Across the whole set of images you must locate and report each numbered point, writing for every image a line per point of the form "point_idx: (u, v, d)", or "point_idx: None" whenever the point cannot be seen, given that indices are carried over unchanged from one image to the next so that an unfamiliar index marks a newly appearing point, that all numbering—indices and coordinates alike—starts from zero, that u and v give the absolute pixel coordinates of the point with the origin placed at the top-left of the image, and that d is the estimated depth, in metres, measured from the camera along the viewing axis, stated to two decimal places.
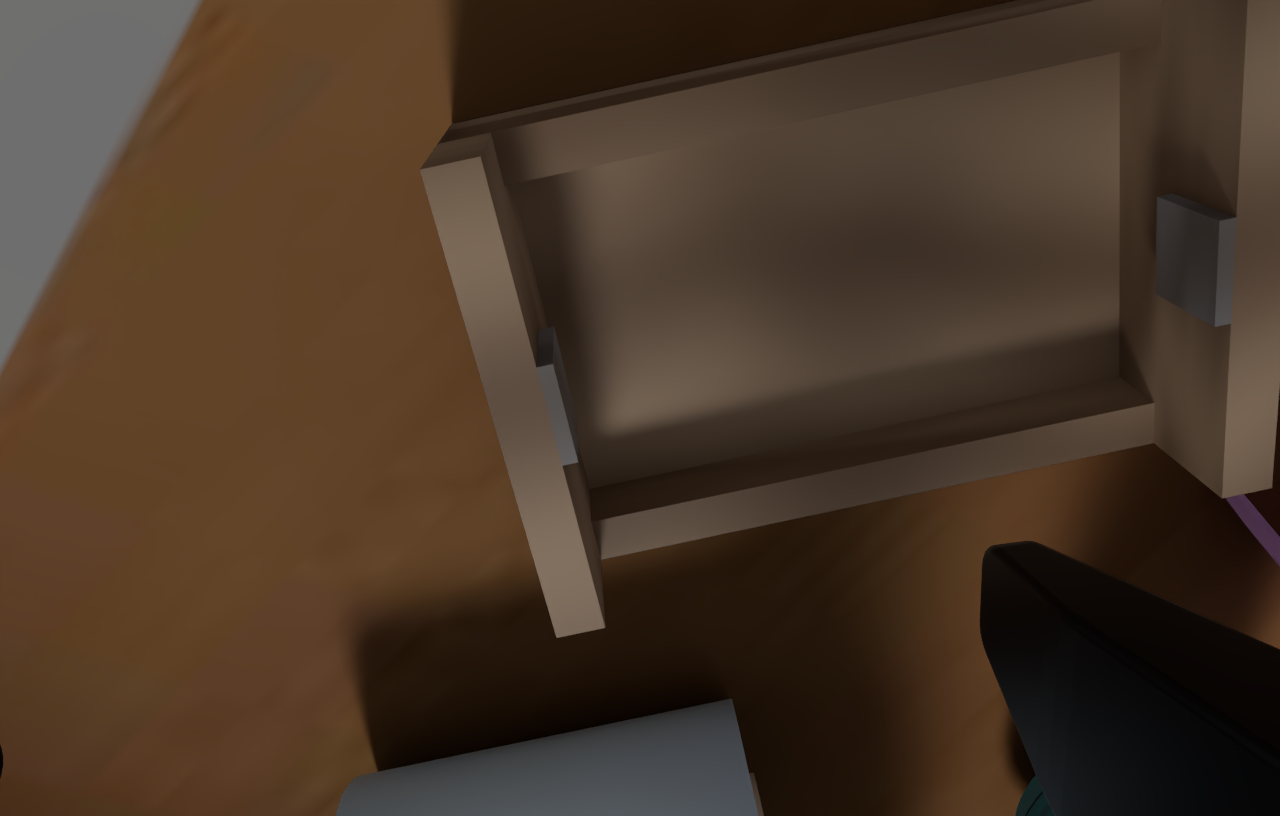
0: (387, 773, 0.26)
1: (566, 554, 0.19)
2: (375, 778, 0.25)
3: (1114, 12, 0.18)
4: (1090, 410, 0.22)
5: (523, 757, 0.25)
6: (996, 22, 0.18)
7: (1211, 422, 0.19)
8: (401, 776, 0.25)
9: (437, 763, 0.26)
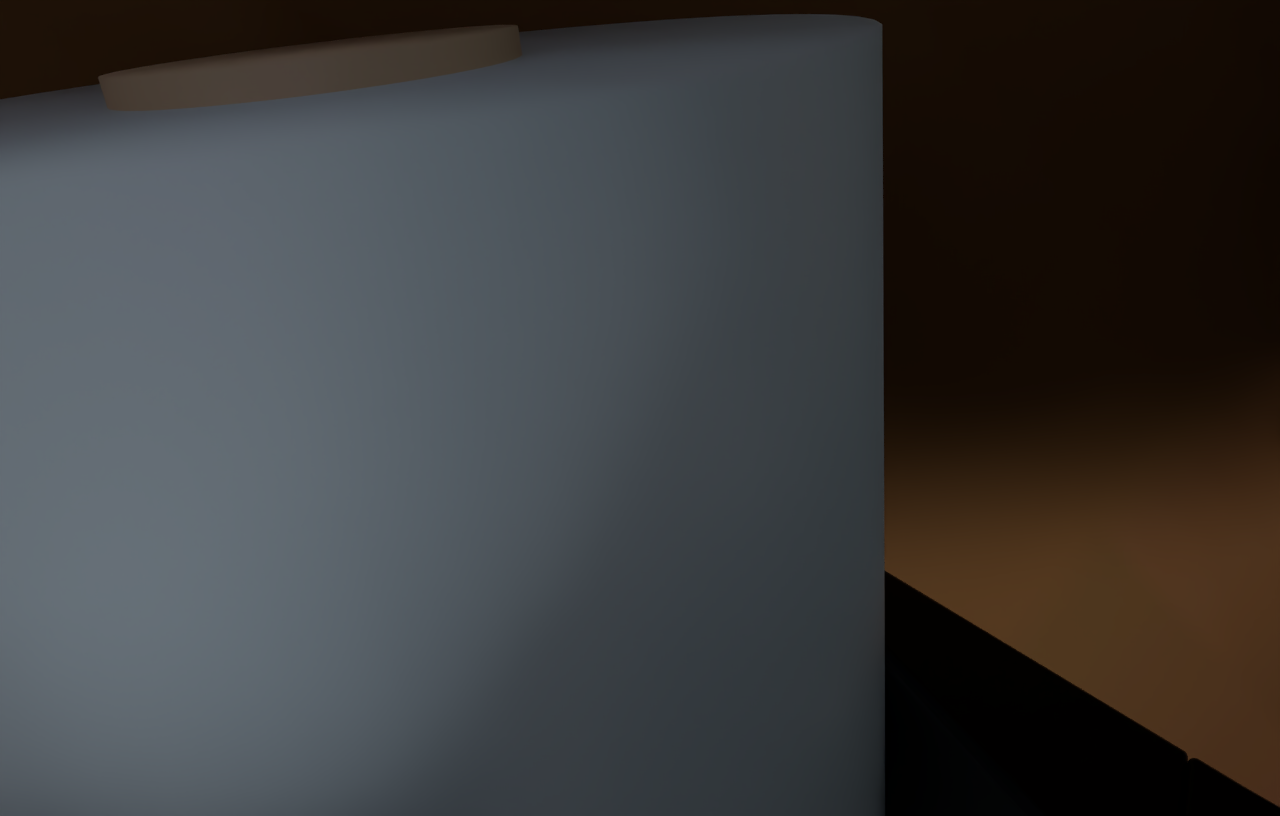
0: None
1: None
2: None
3: None
4: None
5: None
6: None
7: None
8: None
9: None
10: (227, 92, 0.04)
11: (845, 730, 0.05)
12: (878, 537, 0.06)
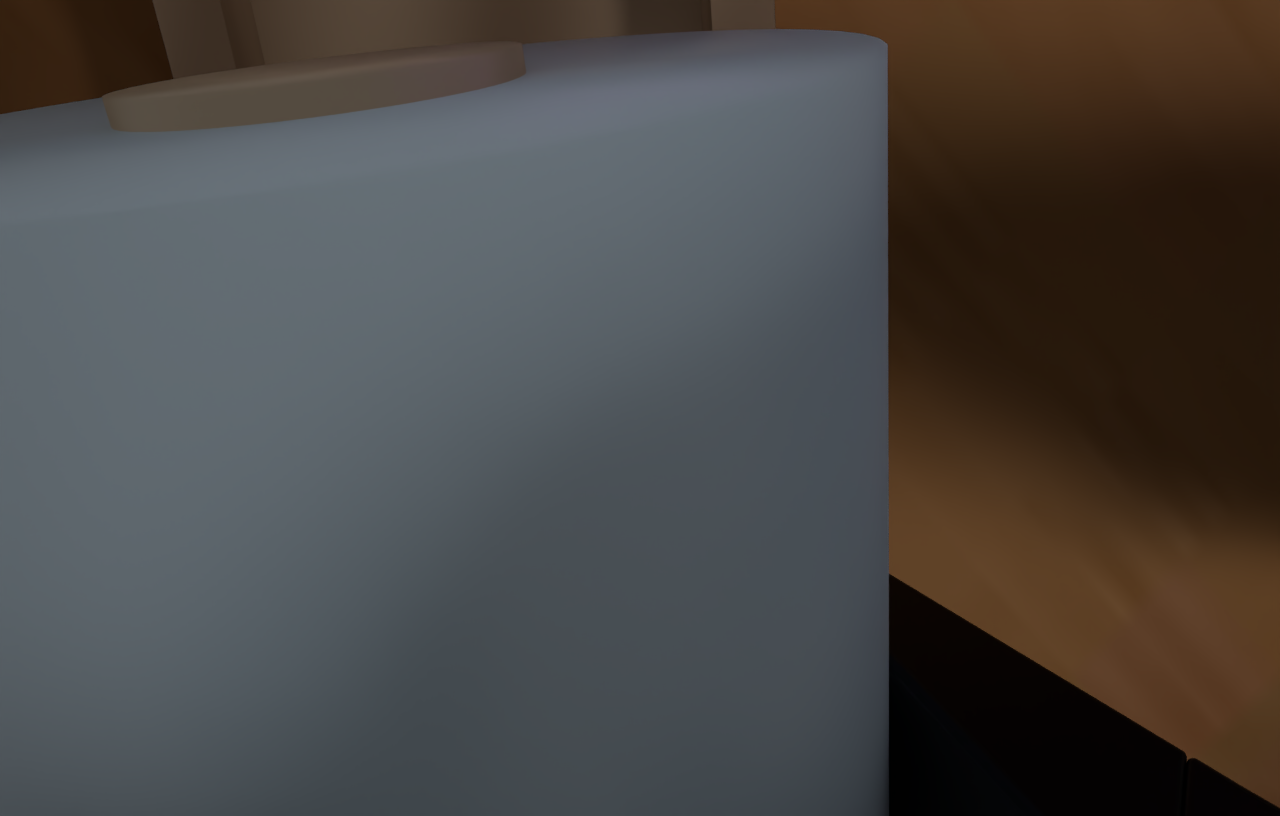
0: None
1: None
2: None
3: None
4: None
5: None
6: None
7: None
8: None
9: None
10: (232, 114, 0.04)
11: (849, 750, 0.05)
12: (883, 556, 0.05)
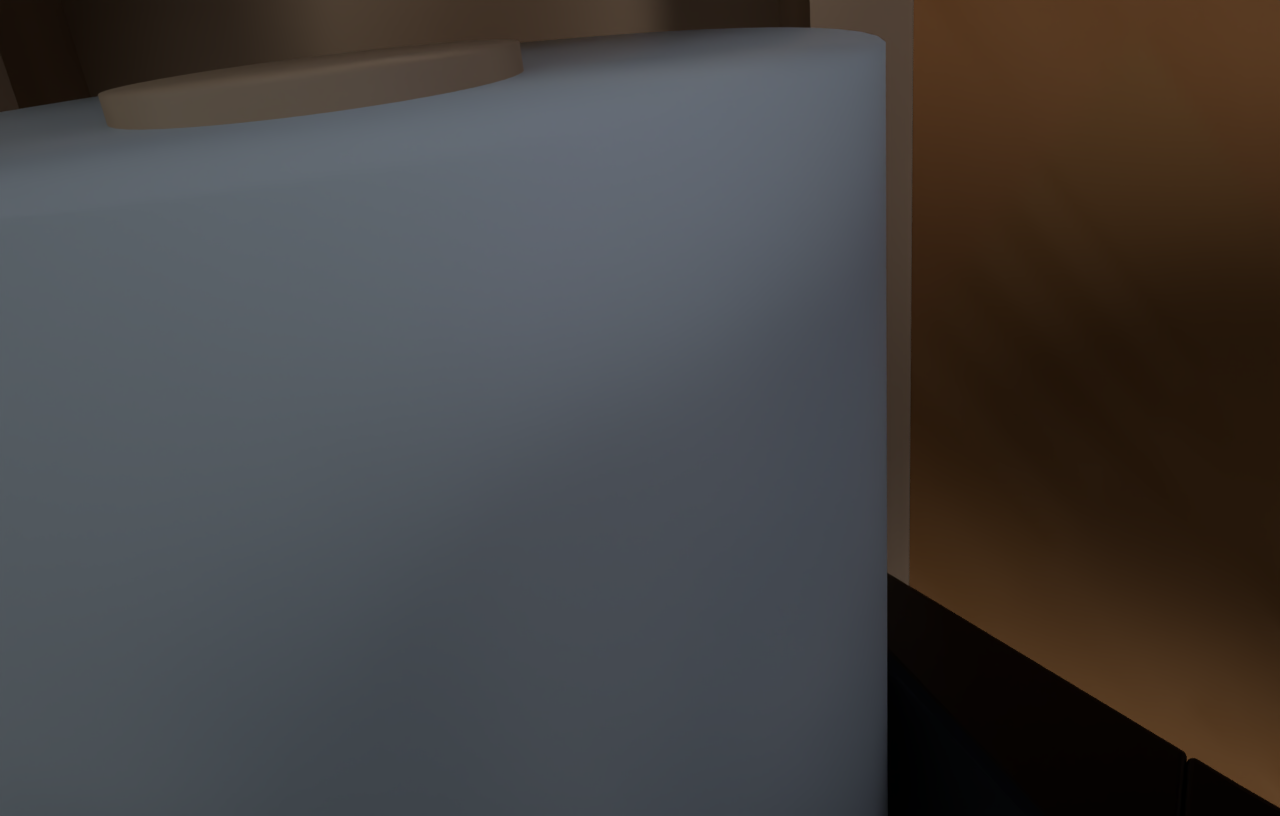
0: None
1: None
2: None
3: None
4: None
5: None
6: None
7: None
8: None
9: None
10: (228, 111, 0.04)
11: (845, 749, 0.05)
12: (881, 555, 0.05)
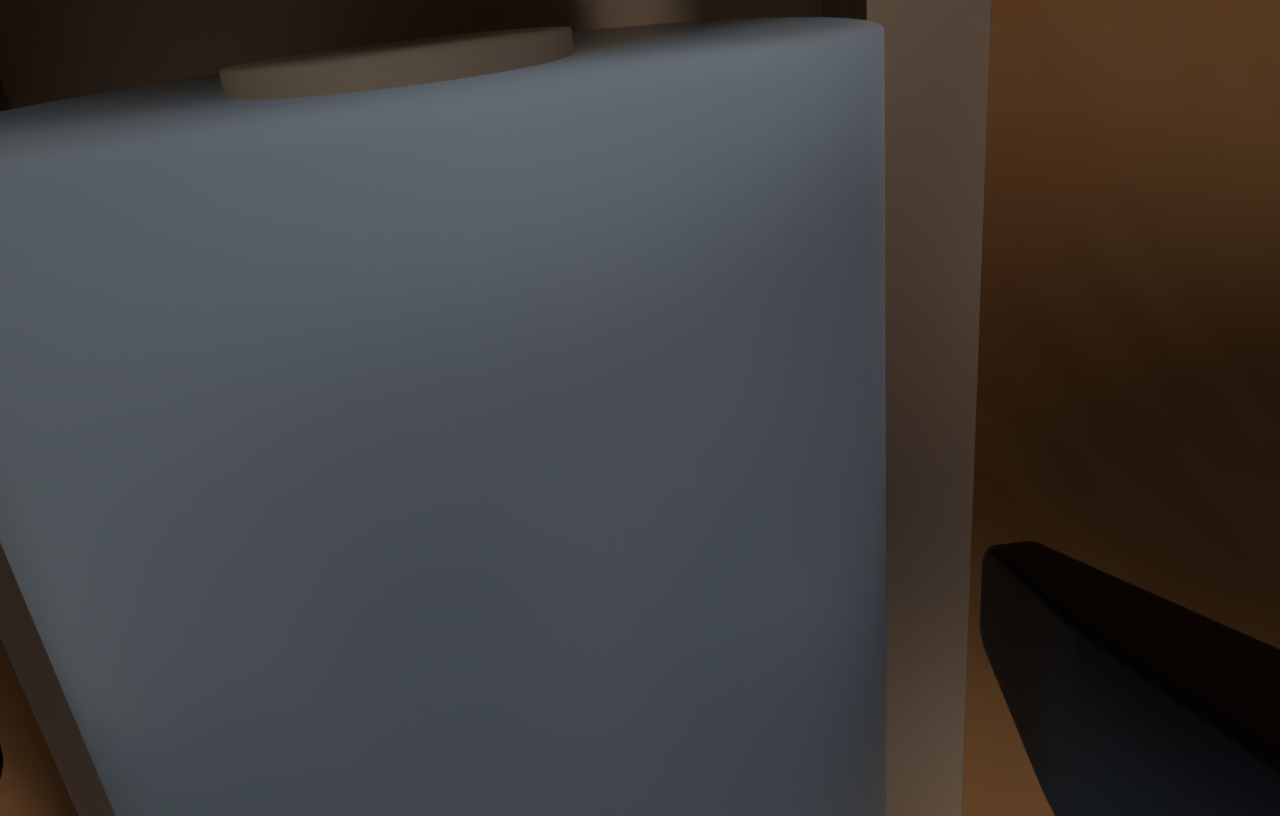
0: None
1: None
2: None
3: None
4: None
5: None
6: None
7: None
8: None
9: None
10: (358, 81, 0.05)
11: (868, 603, 0.06)
12: (884, 446, 0.07)
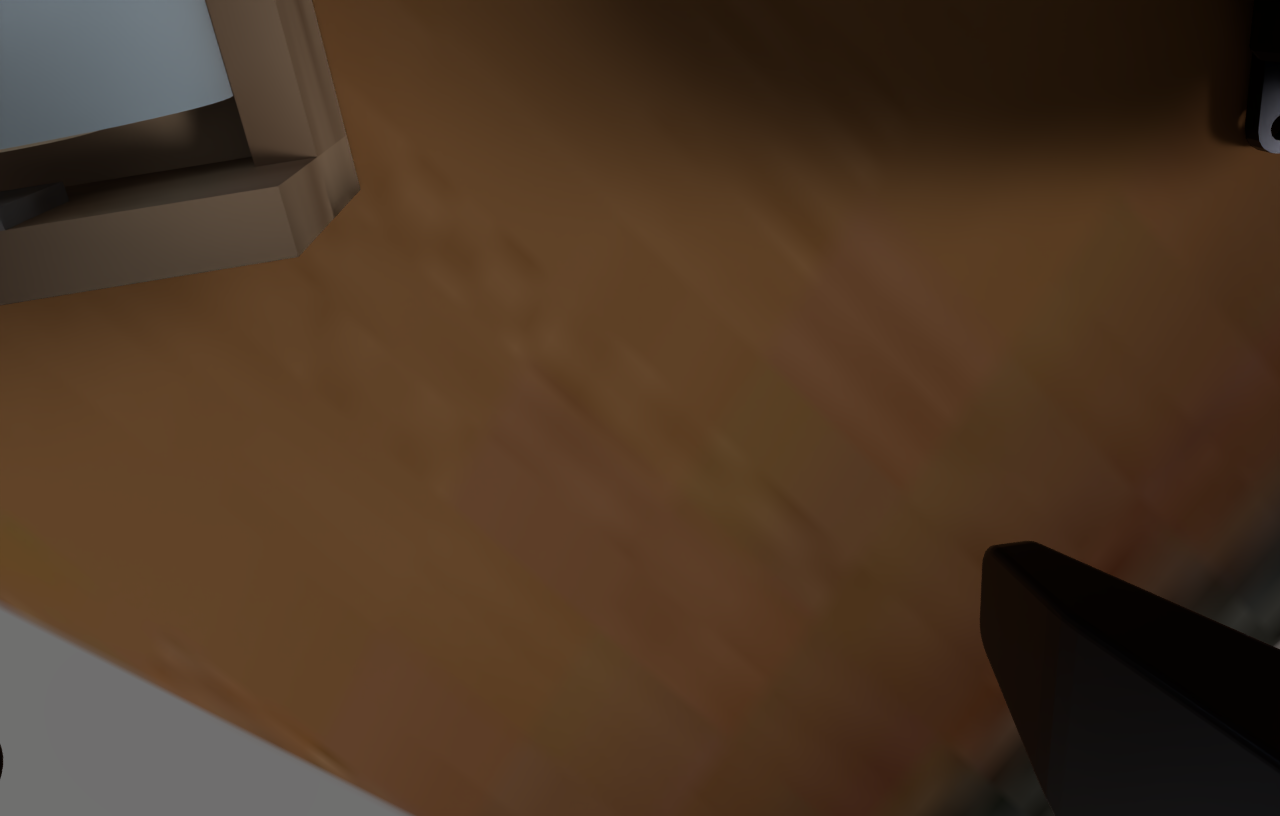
0: None
1: (152, 232, 0.14)
2: None
3: None
4: None
5: None
6: None
7: None
8: None
9: None
10: None
11: None
12: None
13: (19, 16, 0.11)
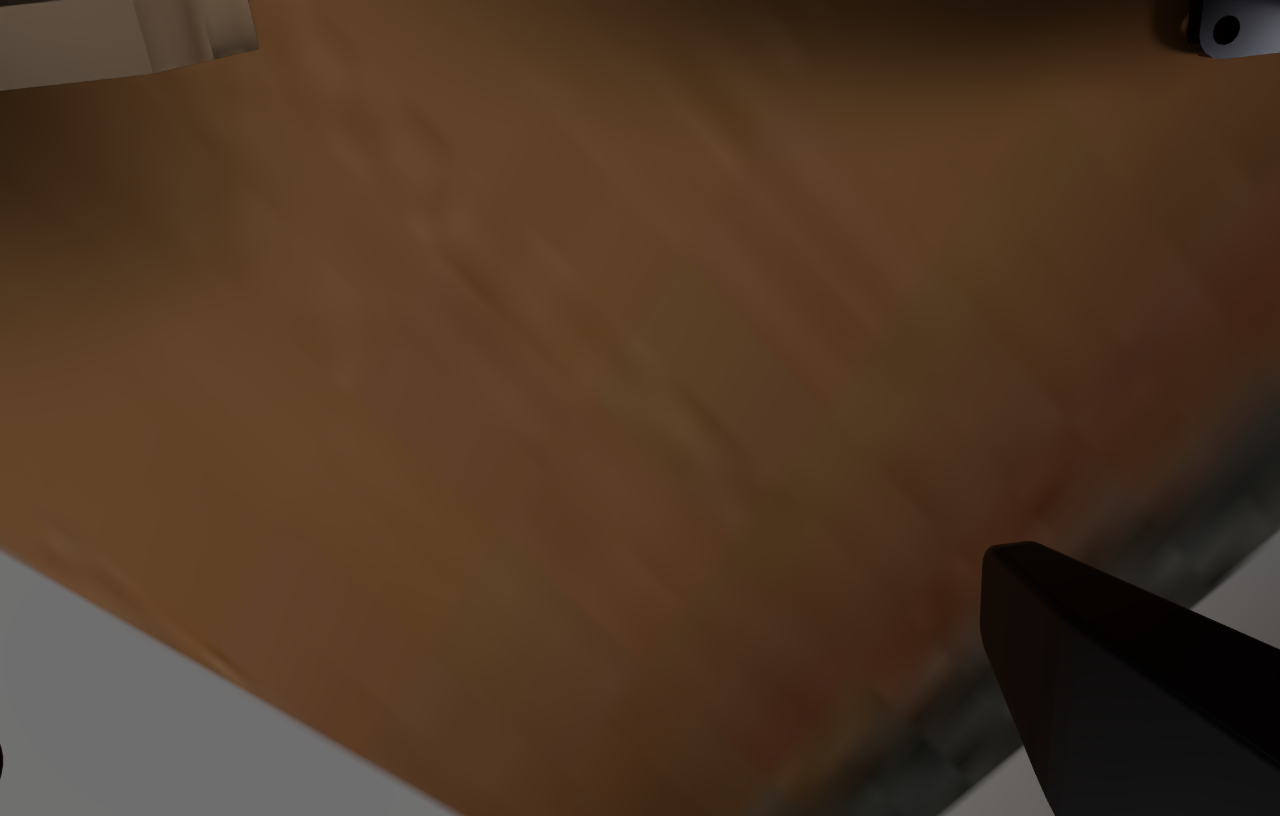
0: None
1: None
2: None
3: None
4: None
5: None
6: None
7: None
8: None
9: None
10: None
11: None
12: None
13: None
